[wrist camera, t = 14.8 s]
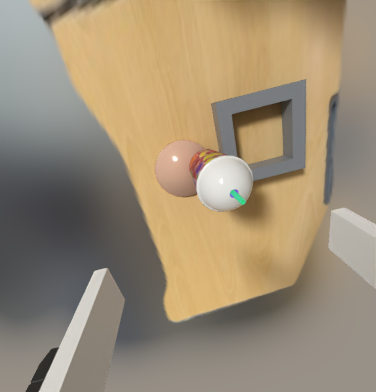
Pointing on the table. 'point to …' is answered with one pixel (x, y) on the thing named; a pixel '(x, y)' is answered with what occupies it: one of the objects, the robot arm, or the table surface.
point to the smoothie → (221, 180)
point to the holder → (291, 124)
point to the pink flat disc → (177, 168)
